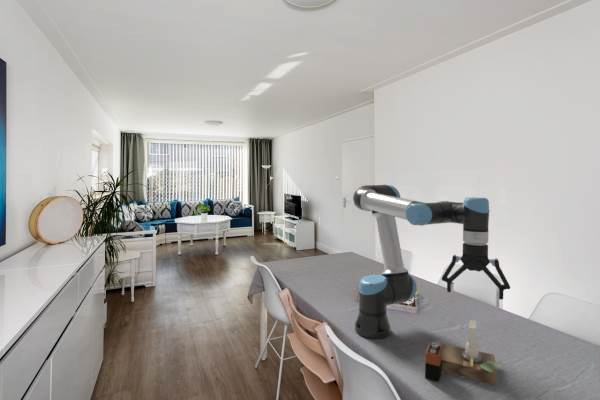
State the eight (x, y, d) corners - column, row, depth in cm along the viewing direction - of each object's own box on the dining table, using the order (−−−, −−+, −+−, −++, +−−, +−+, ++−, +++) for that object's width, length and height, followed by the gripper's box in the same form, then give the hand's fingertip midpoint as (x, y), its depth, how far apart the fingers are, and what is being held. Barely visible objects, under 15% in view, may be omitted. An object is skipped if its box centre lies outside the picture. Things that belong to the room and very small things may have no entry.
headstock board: (428, 368, 110) (429, 357, 110) (432, 351, 122) (433, 340, 121) (501, 387, 100) (502, 374, 100) (498, 366, 112) (499, 355, 111)
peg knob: (461, 365, 105) (462, 330, 104) (462, 350, 114) (463, 318, 114) (482, 370, 102) (483, 334, 102) (481, 355, 112) (482, 321, 111)
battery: (441, 372, 108) (442, 344, 108) (439, 383, 103) (439, 353, 102) (428, 368, 111) (428, 340, 110) (424, 379, 105) (425, 349, 104)
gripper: (434, 242, 110) (433, 302, 111) (521, 248, 98) (519, 315, 99) (436, 238, 117) (435, 295, 118) (518, 244, 105) (516, 307, 106)
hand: (473, 304), depth 109 cm, fingers open, 13 cm apart
